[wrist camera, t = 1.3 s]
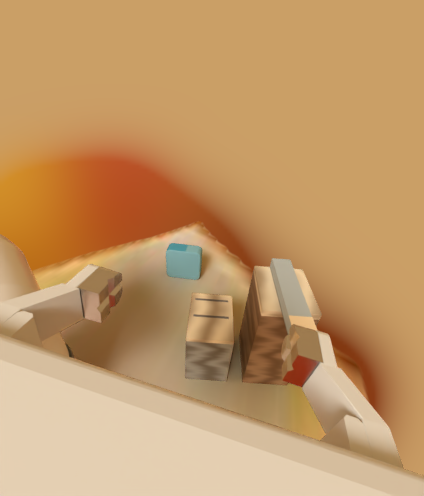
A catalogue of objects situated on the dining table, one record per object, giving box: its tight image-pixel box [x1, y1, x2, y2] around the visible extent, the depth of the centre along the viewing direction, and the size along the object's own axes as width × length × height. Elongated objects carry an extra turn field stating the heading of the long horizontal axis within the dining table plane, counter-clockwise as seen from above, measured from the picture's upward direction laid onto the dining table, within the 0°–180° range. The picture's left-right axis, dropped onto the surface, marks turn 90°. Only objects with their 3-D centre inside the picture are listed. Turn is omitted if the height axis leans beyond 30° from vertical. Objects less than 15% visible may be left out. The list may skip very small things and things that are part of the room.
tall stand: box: [239, 266, 322, 385], centre depth 58 cm, size 11×13×26 cm
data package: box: [166, 243, 202, 280], centre depth 87 cm, size 12×4×12 cm, turn 84°
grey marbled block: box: [185, 293, 234, 381], centre depth 60 cm, size 10×13×16 cm
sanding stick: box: [270, 258, 318, 335], centre depth 46 cm, size 4×22×3 cm, turn 178°
